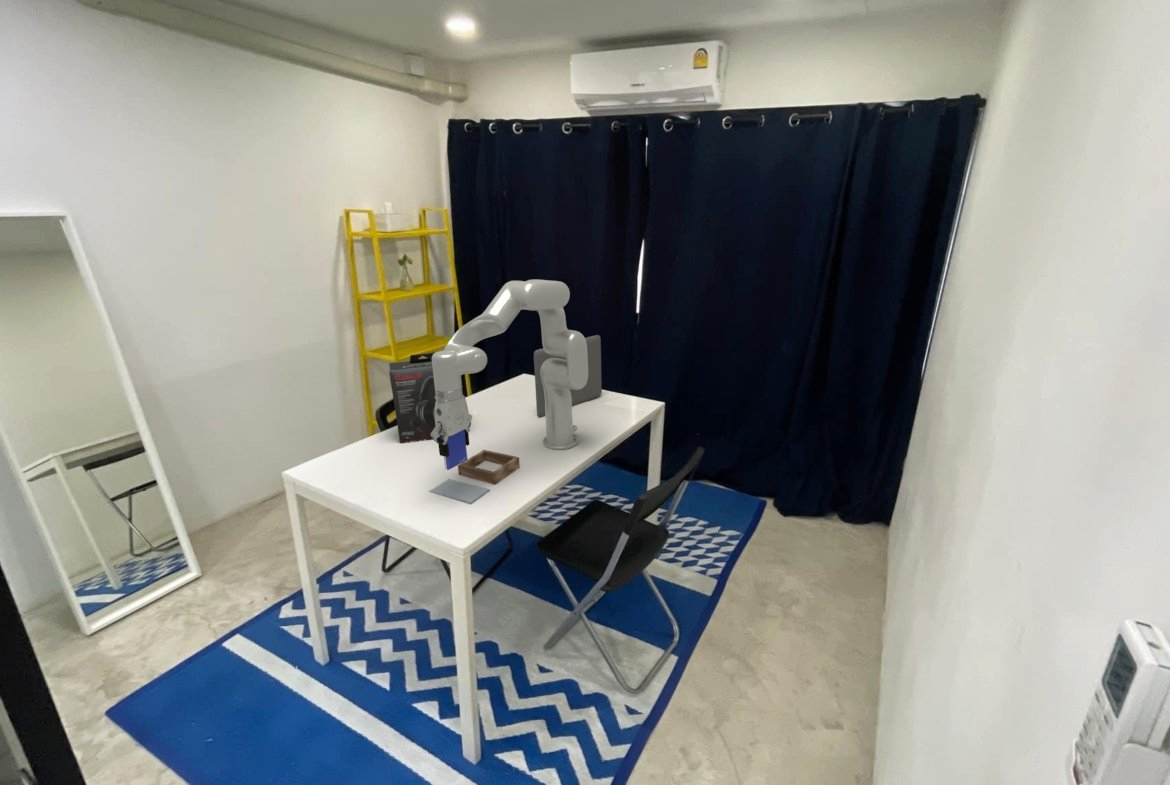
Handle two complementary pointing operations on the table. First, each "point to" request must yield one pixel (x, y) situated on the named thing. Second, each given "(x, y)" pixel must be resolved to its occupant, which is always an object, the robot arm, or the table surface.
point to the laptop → (578, 396)
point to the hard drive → (455, 450)
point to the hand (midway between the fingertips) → (454, 449)
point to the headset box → (414, 397)
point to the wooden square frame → (488, 476)
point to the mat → (460, 491)
